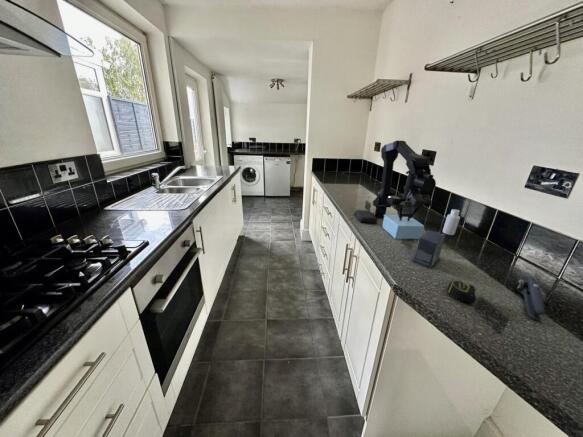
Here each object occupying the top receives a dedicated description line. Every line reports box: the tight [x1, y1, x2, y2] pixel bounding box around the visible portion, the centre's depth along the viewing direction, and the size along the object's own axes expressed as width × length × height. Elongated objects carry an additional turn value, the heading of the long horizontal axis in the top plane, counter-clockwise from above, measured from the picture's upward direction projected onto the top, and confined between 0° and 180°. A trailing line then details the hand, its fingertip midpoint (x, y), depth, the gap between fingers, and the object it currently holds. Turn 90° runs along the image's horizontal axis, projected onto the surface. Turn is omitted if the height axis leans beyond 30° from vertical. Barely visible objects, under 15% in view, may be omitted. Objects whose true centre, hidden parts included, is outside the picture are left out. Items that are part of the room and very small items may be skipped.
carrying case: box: [353, 209, 378, 224], centre depth 128 cm, size 11×3×15 cm
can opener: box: [515, 276, 547, 321], centre depth 67 cm, size 18×7×6 cm, turn 140°
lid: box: [384, 212, 425, 228], centre depth 110 cm, size 14×13×4 cm
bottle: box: [442, 208, 461, 236], centre depth 113 cm, size 5×5×12 cm
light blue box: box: [382, 217, 425, 240], centre depth 112 cm, size 14×13×6 cm
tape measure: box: [447, 280, 477, 305], centre depth 70 cm, size 7×7×4 cm
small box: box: [413, 229, 446, 269], centre depth 88 cm, size 11×6×10 cm, turn 135°
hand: (404, 218), depth 109 cm, fingers closed on lid, 5 cm apart
